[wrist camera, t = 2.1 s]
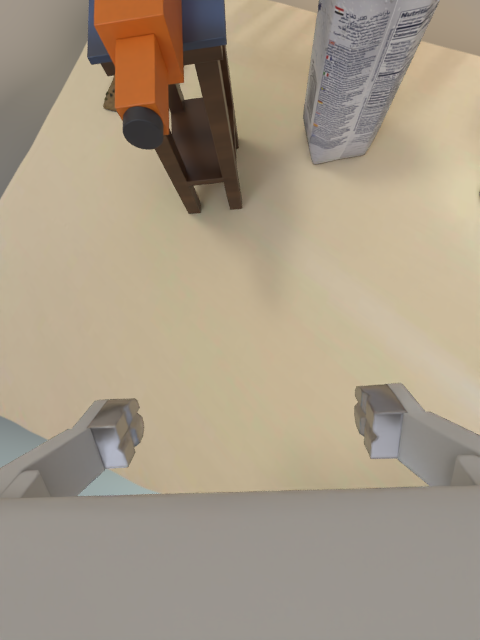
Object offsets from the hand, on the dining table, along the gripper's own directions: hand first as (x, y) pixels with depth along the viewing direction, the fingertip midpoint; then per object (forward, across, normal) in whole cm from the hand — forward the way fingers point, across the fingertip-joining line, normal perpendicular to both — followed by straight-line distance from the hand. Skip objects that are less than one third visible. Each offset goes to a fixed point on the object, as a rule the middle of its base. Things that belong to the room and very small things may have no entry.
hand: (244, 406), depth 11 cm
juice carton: (+48, -15, -15) cm, 52 cm away
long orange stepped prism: (+20, +6, -20) cm, 29 cm away
